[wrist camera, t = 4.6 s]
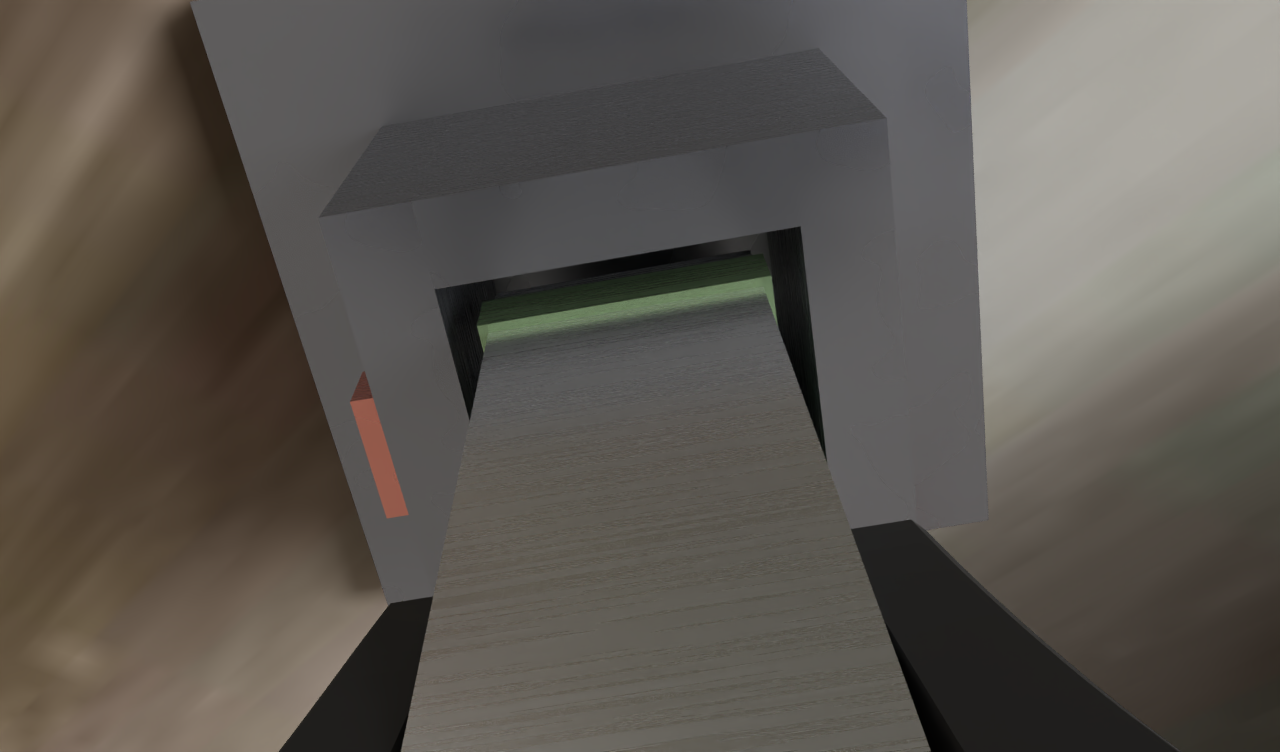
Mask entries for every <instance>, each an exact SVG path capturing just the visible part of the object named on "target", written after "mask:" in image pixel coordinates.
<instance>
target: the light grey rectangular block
mask: <svg viewBox="0 0 1280 752" xmlns="http://www.w3.org/2000/svg"><path fill="white" fill-rule="evenodd" d="M477 328H478V332H479V336H480V340H481V344H482V348H483V352H484V355H483V360H482V365H481V370H480V374H479V379H478V384H477V389H476V394H475V398H474V403H473V408H472V413H471V418H470V422H469V427H468V432H467V437H466V442H465V446H464V451H463V456H462V461H461V466H460V470H459V475H458V480H457V485H456V490H455V494H454V499H453V504H452V509H451V514H450V518H449V523H448V528H447V533H446V538H445V542H444V547H443V552H442V557H441V562H440V566H439V571H438V576H437V581H436V586H435V590H434V595H433V600H432V605H431V610H430V615H429V619H428V624H427V629H426V634H425V639H424V643H423V648H422V653H421V658H420V663H419V667H418V672H417V677H416V682H415V687H414V691H413V696H412V701H411V706H410V711H409V715H408V720H407V725H406V730H405V735H404V739H403V744H402V749H401V752H931V750H930V747H929V745H928V742H927V739H926V736H925V734H924V731H923V728H922V725H921V722H920V720H919V717H918V714H917V711H916V709H915V706H914V703H913V700H912V698H911V695H910V692H909V689H908V686H907V684H906V681H905V678H904V675H903V673H902V670H901V667H900V664H899V661H898V659H897V656H896V653H895V650H894V648H893V645H892V642H891V639H890V636H889V634H888V631H887V628H886V625H885V623H884V620H883V617H882V614H881V612H880V609H879V606H878V603H877V600H876V598H875V595H874V592H873V589H872V587H871V584H870V581H869V578H868V575H867V573H866V570H865V567H864V564H863V562H862V559H861V556H860V553H859V551H858V548H857V545H856V542H855V539H854V537H853V534H852V531H851V528H850V526H849V523H848V520H847V517H846V514H845V512H844V509H843V506H842V503H841V501H840V498H839V495H838V492H837V490H836V487H835V484H834V481H833V478H832V476H831V473H830V470H829V467H828V465H827V462H826V459H825V456H824V453H823V451H822V448H821V445H820V442H819V440H818V437H817V434H816V431H815V429H814V426H813V423H812V420H811V417H810V415H809V412H808V409H807V406H806V404H805V401H804V398H803V395H802V392H801V390H800V387H799V384H798V381H797V379H796V376H795V373H794V370H793V367H792V365H791V362H790V359H789V356H788V354H787V351H786V348H785V345H784V343H783V340H782V337H781V334H780V331H779V329H778V325H777V317H776V309H775V301H774V293H773V285H772V277H771V274H770V271H769V269H768V266H767V263H766V261H765V258H764V256H763V254H757V255H752V254H751V251H750V250H746V251H740V252H734V253H729V254H723V255H717V256H711V257H705V258H700V259H694V260H688V261H682V262H676V263H670V264H665V265H659V266H653V267H647V268H641V269H636V270H630V271H624V272H618V273H612V274H606V275H601V276H595V277H589V278H583V279H577V280H572V281H566V282H560V283H554V284H548V285H542V286H537V287H531V288H525V289H519V290H513V291H508V292H502V293H496V297H495V300H489V301H483V302H482V307H481V311H480V315H479V319H478V324H477Z"/></svg>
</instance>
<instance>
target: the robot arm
mask: <svg viewBox="0 0 1280 752" xmlns="http://www.w3.org/2000/svg"><path fill="white" fill-rule="evenodd" d="M851 531H852V534H853V537H854V539H855V542H856V545H857V548H858V551H859V553H860V556H861V559H862V562H863V564H864V567H865V570H866V573H867V575H868V578H869V581H870V584H871V587H872V589H873V592H874V595H875V598H876V600H877V603H878V606H879V609H880V612H881V614H882V617H883V620H884V623H885V625H886V628H887V631H888V634H889V636H890V639H891V642H892V645H893V648H894V650H895V653H896V656H897V659H898V661H899V664H900V667H901V670H902V673H903V675H904V678H905V681H906V684H907V686H908V689H909V692H910V695H911V698H912V700H913V703H914V706H915V709H916V711H917V714H918V717H919V720H920V722H921V725H922V728H923V731H924V734H925V736H926V739H927V742H928V745H929V747H930V750H931V752H1181V751H1180V750H1179V749H1177V748H1176V747H1175V746H1173V745H1172V744H1171V743H1169V742H1168V741H1167V740H1165V739H1164V738H1163V737H1161V736H1160V735H1159V734H1157V733H1156V732H1155V731H1153V730H1152V729H1151V728H1149V727H1148V726H1147V725H1145V724H1144V723H1143V722H1141V721H1140V720H1139V719H1137V718H1136V717H1135V716H1134V715H1132V714H1131V713H1130V712H1129V711H1127V710H1126V709H1125V708H1124V707H1122V706H1121V705H1120V704H1118V703H1117V702H1116V701H1115V700H1113V699H1112V698H1111V697H1110V696H1108V695H1107V694H1106V693H1105V692H1103V691H1102V690H1101V689H1100V688H1098V687H1097V686H1096V685H1095V684H1094V683H1093V682H1091V681H1090V680H1089V679H1088V678H1087V677H1085V676H1084V675H1083V674H1082V673H1081V672H1079V671H1078V670H1077V669H1076V668H1075V667H1074V666H1072V665H1071V664H1070V663H1069V662H1068V661H1066V660H1065V659H1064V658H1063V657H1062V656H1060V655H1059V654H1058V653H1057V652H1056V651H1055V650H1053V649H1052V648H1051V647H1050V646H1049V645H1047V644H1046V643H1045V642H1044V641H1043V640H1042V639H1040V638H1039V637H1038V636H1037V635H1036V634H1035V633H1034V632H1032V631H1031V630H1030V629H1029V628H1028V627H1027V626H1026V625H1024V624H1023V623H1022V622H1021V621H1020V620H1019V619H1018V618H1017V617H1016V616H1014V615H1013V614H1012V613H1011V612H1010V611H1009V610H1008V609H1007V608H1006V607H1005V606H1004V605H1002V604H1001V603H1000V602H999V601H998V600H997V599H996V598H995V597H994V596H993V595H992V594H991V593H989V592H988V591H987V590H986V589H985V588H984V587H983V586H982V585H981V584H980V583H979V582H978V581H977V580H976V579H975V578H974V577H973V576H971V575H970V574H969V573H968V572H967V571H966V570H965V569H964V568H963V567H962V566H961V565H960V564H959V563H958V562H957V561H956V560H955V559H954V558H953V557H952V556H951V555H950V554H949V553H948V552H947V551H946V550H945V549H944V548H943V547H942V546H941V545H940V544H939V543H938V542H937V541H936V540H935V539H934V538H933V537H932V536H931V535H930V534H929V533H928V532H927V531H926V530H925V529H924V528H922V527H921V526H919V525H918V524H917V523H915V522H914V521H913V520H911V519H910V520H904V521H898V522H892V523H885V524H879V525H873V526H867V527H860V528H854V529H851ZM432 600H433V596H432V597H426V598H419V599H413V600H407V601H401V602H395V603H390V605H389V606H388V607H387V609H386V610H385V611H384V612H383V614H382V615H381V616H380V618H379V619H378V620H377V621H376V623H375V624H374V625H373V627H372V628H371V629H370V631H369V632H368V633H367V635H366V636H365V637H364V639H363V640H362V641H361V643H360V644H359V645H358V647H357V648H356V649H355V651H354V652H353V653H352V655H351V656H350V657H349V659H348V660H347V661H346V663H345V664H344V665H343V667H342V668H341V670H340V671H339V672H338V674H337V675H336V676H335V678H334V679H333V680H332V682H331V683H330V684H329V686H328V687H327V689H326V690H325V691H324V693H323V694H322V695H321V697H320V698H319V699H318V701H317V702H316V703H315V705H314V706H313V707H312V709H311V710H310V711H309V713H308V714H307V715H306V717H305V718H304V719H303V721H302V722H301V723H300V725H299V726H298V727H297V729H296V730H295V731H294V733H293V734H292V735H291V737H290V738H289V739H288V740H287V742H286V743H285V744H284V746H283V747H282V748H281V749H280V751H279V752H401V749H402V744H403V739H404V735H405V730H406V725H407V720H408V715H409V711H410V706H411V701H412V696H413V691H414V687H415V682H416V677H417V672H418V667H419V663H420V658H421V653H422V648H423V643H424V639H425V634H426V629H427V624H428V619H429V615H430V610H431V605H432Z"/></svg>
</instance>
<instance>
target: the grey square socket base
mask: <svg viewBox="0 0 1280 752" xmlns="http://www.w3.org/2000/svg"><path fill="white" fill-rule="evenodd" d="M190 4H191V7H192V10H193V13H194V16H195V19H196V22H197V26H198V29H199V32H200V35H201V38H202V41H203V44H204V47H205V50H206V53H207V56H208V59H209V62H210V65H211V68H212V71H213V74H214V77H215V80H216V83H217V86H218V89H219V92H220V96H221V99H222V102H223V105H224V108H225V111H226V114H227V117H228V120H229V123H230V126H231V129H232V132H233V135H234V138H235V141H236V144H237V147H238V150H239V153H240V156H241V159H242V162H243V165H244V169H245V172H246V175H247V178H248V181H249V184H250V187H251V190H252V193H253V196H254V199H255V202H256V205H257V208H258V211H259V214H260V217H261V220H262V223H263V226H264V229H265V232H266V235H267V239H268V242H269V245H270V248H271V251H272V254H273V257H274V260H275V263H276V266H277V269H278V272H279V275H280V278H281V281H282V284H283V287H284V290H285V293H286V296H287V299H288V302H289V305H290V308H291V312H292V315H293V318H294V321H295V324H296V327H297V330H298V333H299V336H300V339H301V342H302V345H303V348H304V351H305V354H306V357H307V360H308V363H309V366H310V369H311V372H312V375H313V378H314V382H315V385H316V388H317V391H318V394H319V397H320V400H321V403H322V406H323V409H324V412H325V415H326V418H327V421H328V424H329V427H330V430H331V433H332V436H333V439H334V442H335V445H336V448H337V451H338V455H339V458H340V461H341V464H342V467H343V470H344V473H345V476H346V479H347V482H348V485H349V488H350V491H351V494H352V497H353V500H354V503H355V506H356V509H357V512H358V515H359V518H360V521H361V525H362V528H363V531H364V534H365V537H366V540H367V543H368V546H369V549H370V552H371V555H372V558H373V561H374V564H375V567H376V570H377V573H378V576H379V579H380V582H381V585H382V588H383V591H384V595H385V598H386V601H387V604H388V606H389V605H390V603H395V602H401V601H407V600H413V599H419V598H426V597H432V596H433V595H434V590H435V586H436V581H437V576H438V571H439V566H440V562H441V557H442V552H443V547H444V542H445V538H446V533H447V528H448V523H449V518H450V514H451V509H452V504H453V499H454V494H455V490H456V485H457V480H458V475H459V470H460V466H461V461H462V456H463V451H464V446H465V442H466V437H467V432H468V427H469V422H470V418H471V413H472V408H473V403H474V398H475V394H476V389H477V384H478V379H479V374H480V370H481V365H482V360H483V355H484V352H483V348H482V344H481V340H480V336H479V332H478V328H477V324H478V319H479V315H480V311H481V307H482V302H483V301H489V300H495V297H496V293H502V292H508V291H513V290H519V289H525V288H531V287H537V286H542V285H548V284H554V283H560V282H566V281H572V280H577V279H583V278H589V277H595V276H601V275H606V274H612V273H618V272H624V271H630V270H636V269H641V268H647V267H653V266H659V265H665V264H670V263H676V262H682V261H688V260H694V259H700V258H705V257H711V256H717V255H723V254H729V253H734V252H740V251H746V250H750V251H751V254H752V255H757V254H763V256H764V258H765V261H766V263H767V266H768V269H769V271H770V274H771V277H772V285H773V293H774V301H775V309H776V317H777V325H778V329H779V331H780V334H781V337H782V340H783V343H784V345H785V348H786V351H787V354H788V356H789V359H790V362H791V365H792V367H793V370H794V373H795V376H796V379H797V381H798V384H799V387H800V390H801V392H802V395H803V398H804V401H805V404H806V406H807V409H808V412H809V415H810V417H811V420H812V423H813V426H814V429H815V431H816V434H817V437H818V440H819V442H820V445H821V448H822V451H823V453H824V456H825V459H826V462H827V465H828V467H829V470H830V473H831V476H832V478H833V481H834V484H835V487H836V490H837V492H838V495H839V498H840V501H841V503H842V506H843V509H844V512H845V514H846V517H847V520H848V523H849V526H850V528H851V529H854V528H860V527H867V526H873V525H879V524H885V523H892V522H898V521H904V520H910V519H911V520H913V521H914V522H915V523H917V524H918V525H919V526H921V527H922V528H924V529H925V530H930V529H936V528H942V527H948V526H955V525H961V524H967V523H973V522H980V521H986V520H988V496H987V472H986V449H985V425H984V402H983V378H982V354H981V331H980V307H979V283H978V260H977V236H976V213H975V189H974V165H973V142H972V118H971V95H970V71H969V47H968V24H967V0H193V1H191V2H190Z"/></svg>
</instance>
